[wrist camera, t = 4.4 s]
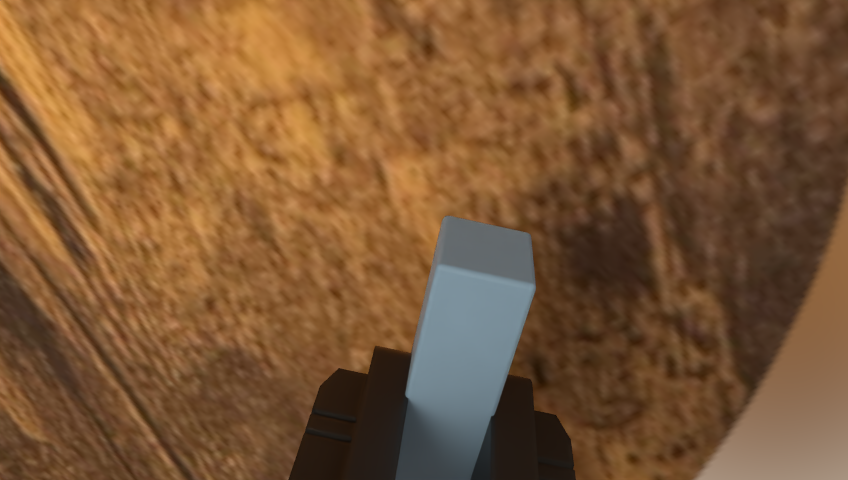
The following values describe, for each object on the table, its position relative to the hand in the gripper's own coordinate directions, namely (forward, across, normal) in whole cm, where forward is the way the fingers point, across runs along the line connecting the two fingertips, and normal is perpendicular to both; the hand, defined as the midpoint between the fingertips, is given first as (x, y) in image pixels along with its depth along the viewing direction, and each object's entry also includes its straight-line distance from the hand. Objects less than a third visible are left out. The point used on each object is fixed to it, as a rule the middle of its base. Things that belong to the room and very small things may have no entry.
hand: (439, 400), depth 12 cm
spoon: (0, 0, +2) cm, 2 cm away
